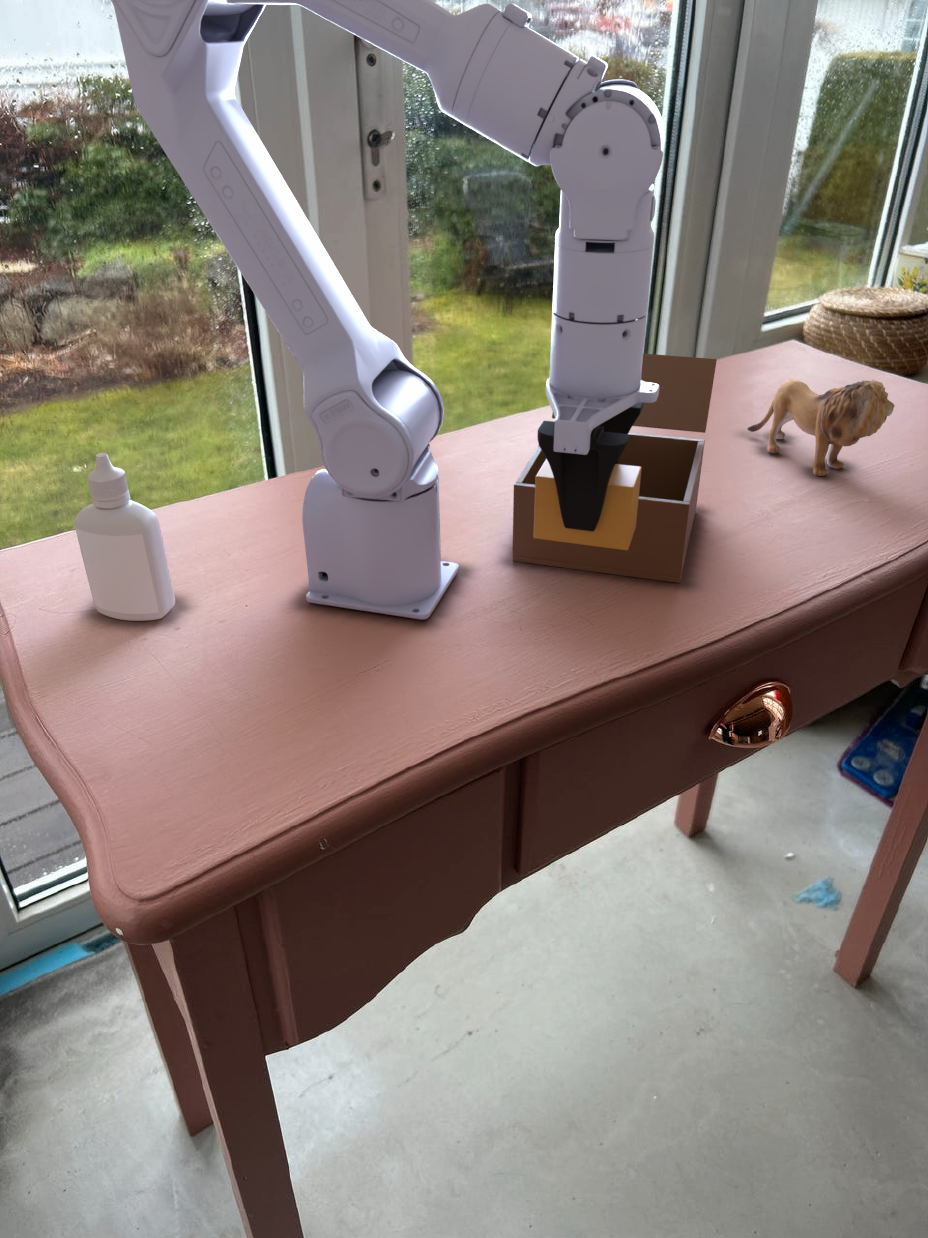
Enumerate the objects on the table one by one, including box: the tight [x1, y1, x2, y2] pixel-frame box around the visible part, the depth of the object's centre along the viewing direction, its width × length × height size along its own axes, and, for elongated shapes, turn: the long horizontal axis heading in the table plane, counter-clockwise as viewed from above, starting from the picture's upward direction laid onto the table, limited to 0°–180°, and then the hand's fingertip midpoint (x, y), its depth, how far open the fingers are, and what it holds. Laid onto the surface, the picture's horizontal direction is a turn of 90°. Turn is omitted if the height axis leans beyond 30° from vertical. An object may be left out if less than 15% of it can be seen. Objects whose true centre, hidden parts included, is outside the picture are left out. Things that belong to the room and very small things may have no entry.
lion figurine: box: [746, 379, 896, 477], centre depth 89 cm, size 15×5×9 cm, turn 33°
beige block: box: [533, 459, 642, 550], centre depth 65 cm, size 6×4×5 cm, turn 73°
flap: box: [551, 353, 718, 434], centre depth 80 cm, size 13×6×1 cm
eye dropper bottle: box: [74, 452, 176, 622], centre depth 66 cm, size 4×6×12 cm
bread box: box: [511, 432, 706, 584], centre depth 77 cm, size 13×13×6 cm
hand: (585, 514), depth 65 cm, fingers closed on beige block, 3 cm apart
